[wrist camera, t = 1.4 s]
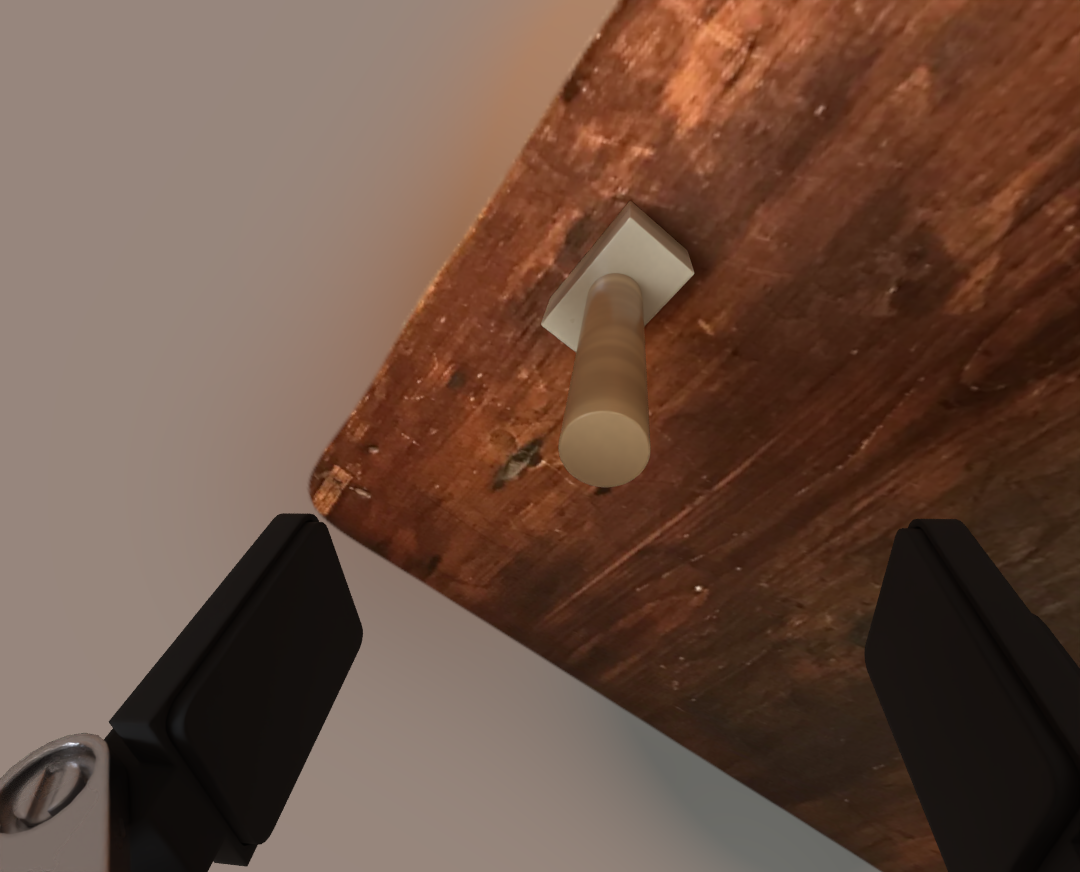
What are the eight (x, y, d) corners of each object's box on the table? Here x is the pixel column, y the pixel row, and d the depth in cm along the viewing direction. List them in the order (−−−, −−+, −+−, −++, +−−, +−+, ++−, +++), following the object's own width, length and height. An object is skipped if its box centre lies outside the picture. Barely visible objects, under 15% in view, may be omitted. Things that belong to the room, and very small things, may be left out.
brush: (630, 199, 22) (629, 325, 11) (688, 251, 23) (740, 416, 12) (549, 298, 25) (484, 481, 14) (604, 342, 25) (583, 549, 14)
